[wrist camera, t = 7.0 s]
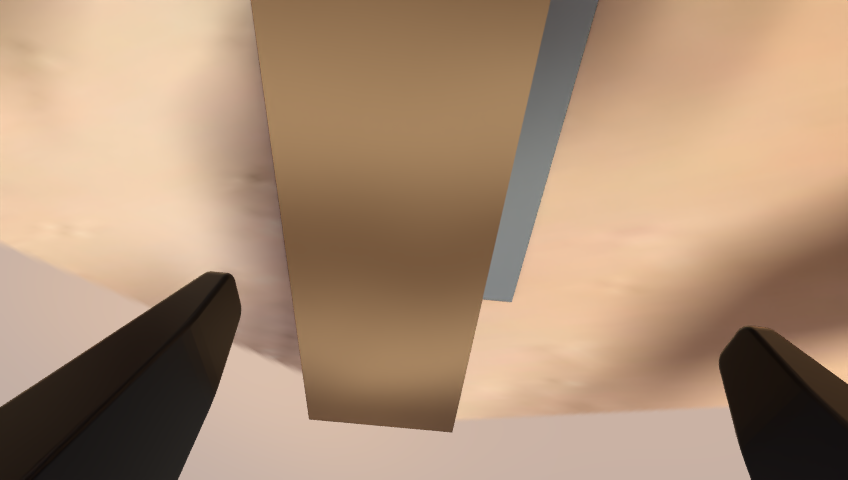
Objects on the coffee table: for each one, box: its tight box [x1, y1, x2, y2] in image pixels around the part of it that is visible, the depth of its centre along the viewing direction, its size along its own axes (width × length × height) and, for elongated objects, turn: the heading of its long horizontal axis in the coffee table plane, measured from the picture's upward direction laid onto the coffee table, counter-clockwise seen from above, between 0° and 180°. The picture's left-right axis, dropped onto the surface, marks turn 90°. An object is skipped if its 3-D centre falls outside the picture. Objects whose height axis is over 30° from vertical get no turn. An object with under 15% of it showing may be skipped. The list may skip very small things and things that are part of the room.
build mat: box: [483, 0, 598, 302], centre depth 18 cm, size 12×22×1 cm, turn 175°
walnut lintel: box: [251, 0, 551, 432], centre depth 12 cm, size 14×4×4 cm, turn 175°
